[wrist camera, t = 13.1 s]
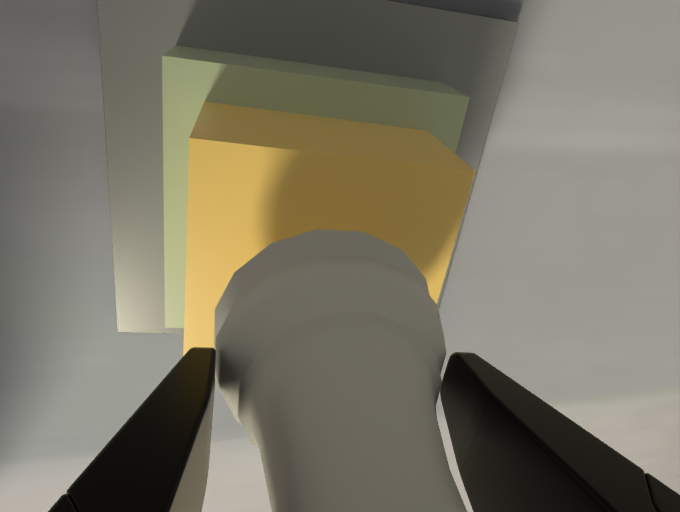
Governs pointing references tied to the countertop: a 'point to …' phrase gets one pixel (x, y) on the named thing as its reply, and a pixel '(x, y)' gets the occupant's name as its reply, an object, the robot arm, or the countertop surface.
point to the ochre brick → (310, 195)
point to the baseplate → (280, 35)
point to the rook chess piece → (337, 375)
